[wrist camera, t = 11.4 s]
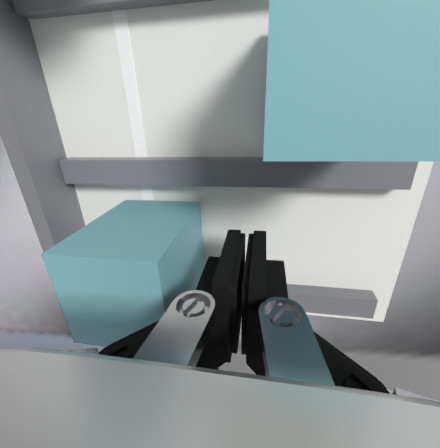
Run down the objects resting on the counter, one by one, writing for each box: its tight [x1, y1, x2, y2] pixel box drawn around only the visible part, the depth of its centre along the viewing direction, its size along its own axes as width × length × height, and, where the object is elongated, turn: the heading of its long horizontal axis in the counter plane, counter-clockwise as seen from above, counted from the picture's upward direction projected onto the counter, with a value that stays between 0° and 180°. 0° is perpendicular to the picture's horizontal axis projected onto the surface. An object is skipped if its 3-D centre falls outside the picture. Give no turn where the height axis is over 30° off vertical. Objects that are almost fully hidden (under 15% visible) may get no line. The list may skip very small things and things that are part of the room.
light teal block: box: [263, 0, 440, 162], centre depth 7 cm, size 4×4×6 cm
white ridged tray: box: [0, 0, 434, 322], centre depth 11 cm, size 20×24×4 cm
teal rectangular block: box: [41, 200, 204, 346], centre depth 11 cm, size 4×4×6 cm
